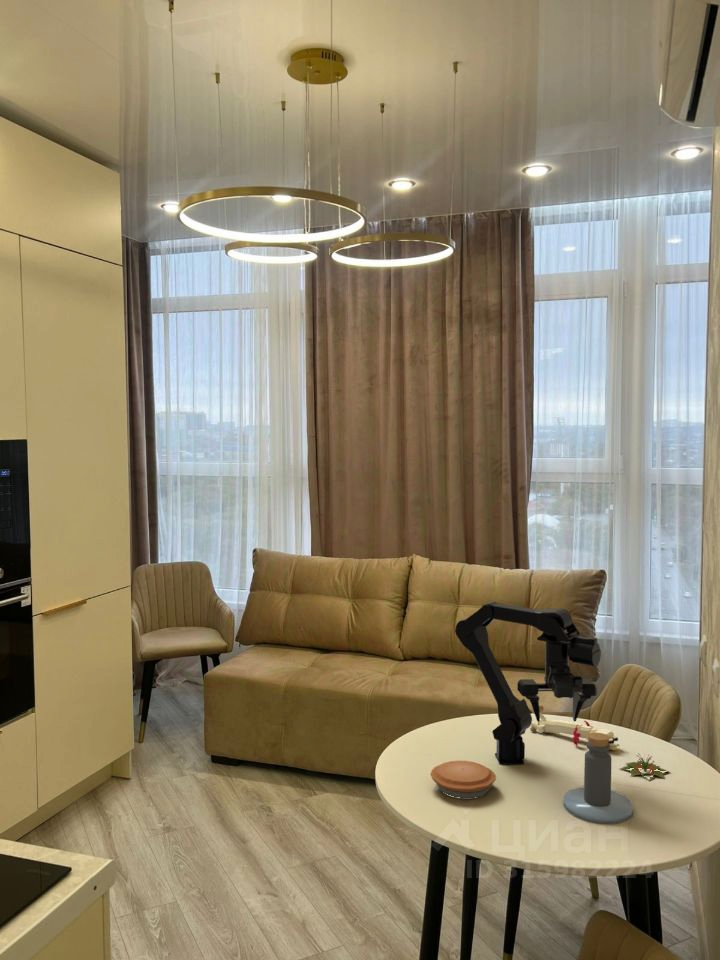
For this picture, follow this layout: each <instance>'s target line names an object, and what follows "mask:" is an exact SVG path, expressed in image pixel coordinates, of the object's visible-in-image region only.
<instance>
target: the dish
mask: <svg viewBox="0 0 720 960" xmlns="http://www.w3.org/2000/svg"><path fill="white" fill-rule="evenodd" d="M563 807H564V809H565V811H567V812H568V813H569V814H570V815H572V816H574V817H576V818H578V819H580V820H583V821H586V822H591V823H595V824H618V823H619V824H620V823H622V822H625V821H628V820H629V819H631V817H632V816H633V807H634V806H633V803H632V801H631V800H630V799H629V798H628V797H626V796H625V795H623V794H621V793H619V792H616V791H614V790H611V803H610V804H609V805H608V806H594V805H590V804H588V803H587V802H585V800H584V786H583V787H577V788H573V789H569V790H568V791H567V792H565V794H564V795H563Z"/></svg>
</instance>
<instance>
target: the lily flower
mask: <svg viewBox="0 0 720 960" xmlns="http://www.w3.org/2000/svg"><path fill="white" fill-rule="evenodd" d="M637 754H638V755H637ZM637 754H636V757H638V760H636V761H637V762H636V761H632V762H625V764H626V765H628V766H623V767H621V768H619V769H620V770H624V771H628V772H630V777H634V776H637V775H639V776H640V777H642V778H644V779H645V780H648V779H647V778H648V777H647V776H646V777H647V778H646V777H644V776H645V775H654V776H653V777H650V776H649V777H650V780H648V781H649V782H650V781H652V779H654V778H655V777H656V776H657V777H659V778H663V779H664V778H665V776H664V774H665V773H662V772H660V771H667V772H669V774H670V773H671V771H669V770H666V769H664V768H660V765H659V766H656V765H657V764H654V763H655V760H652V762H650V761H651V759H652V757H653V756H652V755H651V756H650V754H648V756H647V758H645V759H644V757H642V756H641V754H640V753H639V752H638V753H637ZM644 756H646V755H645V753H644ZM641 764H642V765H641ZM630 768H634V769H632V770H631V771H630V770H625V769H630ZM638 768H642V769H641V770H643V771H644V772H642V771H641V770H640V771H641V772H640V771H639V769H638ZM647 769H650V771H651V770H652V772H651V773H650V771H649V772H647V771H648V770H647ZM656 769H658V770H660V771H654V770H656ZM641 774H643V775H644V776H642V775H641ZM665 779H666V778H665Z"/></svg>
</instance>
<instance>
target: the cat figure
mask: <svg viewBox="0 0 720 960" xmlns="http://www.w3.org/2000/svg"><path fill="white" fill-rule="evenodd" d="M543 710H544V706H543V705H542V704H539V713H540V721H539V722H538V721H537V723H536V722H534V721H532V723H531V725H530V727H529V728H530V729H529V730H530V732H532V733H536V732H537V730H538V732H539V733H548V734H549V733H553V734H559V735H560V734H564V735H570V736H572V737H573V738H572V743H573V745H575V746H576V747H577V746H578V743H580V738H581V739H585V740H586V741H587V742H588V741H589V740H588V734H590V733H603V734H606V735H608V736H609V742H608V744H609V745H610V750H609V751H617V747H620V744H619V743H617V744H615V742H618V741H619V738H618V736H616V735H615V734H614V732H613V730H611V729H605V728H604V729H603V728H599V729H597V728H595V727H593V726H592V725H591V724H590V723H589V722H588V721H586V720H583V722H584V723H585V725H584V724H583V723H577V722H574V721H573V722H571V721H566V720H561V719H557V720H554V719H547V718H546V717H545V715H543V713H542V712H543Z"/></svg>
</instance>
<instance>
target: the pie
mask: <svg viewBox="0 0 720 960" xmlns="http://www.w3.org/2000/svg"><path fill="white" fill-rule="evenodd" d="M429 775H430V777H431V779H432V780H433V782H434V783H435V784H436V786H437V787H438V789H439V790H441V791H442V792H444V793H446V794H448V795H451V796H454V797H460V798H474V799H476V798H475V797H478V798H481V797H482V795H483V796H485V794H486V793H487V792H488V791H489V789H490V787H491V786H492V785H493V783H495V782H496V780H497V776H496V774H495V772H494V771H493V770H492V769H491V768H489V767H487V766H485V765H483V764H481V763H478V762H475V761H469V760H450V761H446V762H443V763H441V764H438V765H436V766H435V767H434V768H432V769H431V772H430V774H429ZM441 791H440V792H441ZM442 792H441V793H442ZM444 793H443V794H444ZM480 796H481V797H480Z"/></svg>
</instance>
